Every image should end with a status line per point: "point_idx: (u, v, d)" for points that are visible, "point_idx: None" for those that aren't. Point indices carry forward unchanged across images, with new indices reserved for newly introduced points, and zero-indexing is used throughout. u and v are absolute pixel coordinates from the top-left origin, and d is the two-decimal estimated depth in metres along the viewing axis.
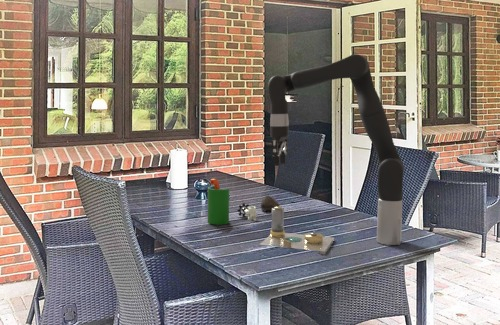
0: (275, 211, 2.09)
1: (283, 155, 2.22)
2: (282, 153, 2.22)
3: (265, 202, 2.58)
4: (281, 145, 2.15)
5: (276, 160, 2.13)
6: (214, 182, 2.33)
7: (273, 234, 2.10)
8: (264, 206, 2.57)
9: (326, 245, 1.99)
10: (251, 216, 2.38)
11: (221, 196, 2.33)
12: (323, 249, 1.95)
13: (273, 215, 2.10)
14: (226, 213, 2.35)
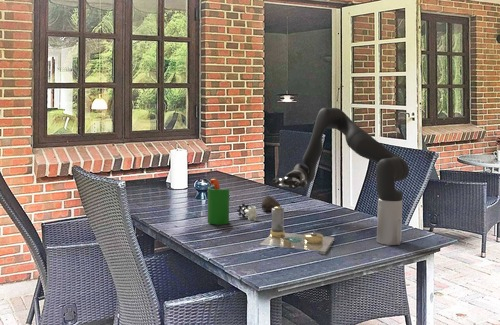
0: (275, 211, 2.09)
1: None
2: None
3: (266, 202, 2.58)
4: (284, 178, 2.29)
5: None
6: (214, 182, 2.33)
7: (273, 234, 2.10)
8: (265, 206, 2.57)
9: (326, 245, 1.99)
10: (251, 216, 2.38)
11: (221, 196, 2.33)
12: (323, 249, 1.95)
13: (273, 215, 2.10)
14: (226, 213, 2.35)
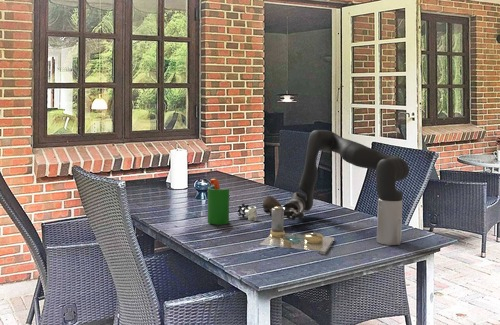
0: (275, 211, 2.09)
1: None
2: None
3: (267, 202, 2.58)
4: None
5: None
6: (214, 182, 2.33)
7: (273, 234, 2.10)
8: (266, 206, 2.57)
9: (326, 245, 1.99)
10: (252, 216, 2.38)
11: (221, 196, 2.33)
12: (323, 249, 1.95)
13: (273, 215, 2.10)
14: (226, 213, 2.35)
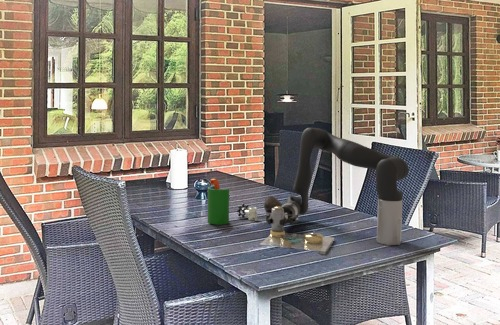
0: (275, 211, 2.09)
1: None
2: None
3: (268, 202, 2.58)
4: None
5: None
6: (214, 182, 2.33)
7: (273, 234, 2.10)
8: (267, 206, 2.57)
9: (326, 245, 1.99)
10: (252, 217, 2.37)
11: (221, 196, 2.33)
12: (323, 249, 1.95)
13: (273, 215, 2.10)
14: (226, 213, 2.35)
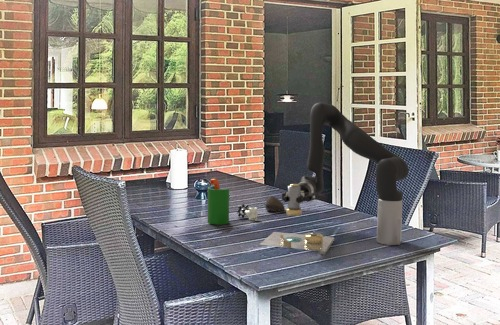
0: (292, 188, 2.02)
1: None
2: None
3: (270, 202, 2.57)
4: None
5: None
6: (214, 182, 2.33)
7: (289, 212, 2.04)
8: (269, 206, 2.57)
9: (326, 245, 1.99)
10: (252, 217, 2.37)
11: (221, 196, 2.33)
12: (323, 249, 1.95)
13: (289, 192, 2.03)
14: (226, 213, 2.35)
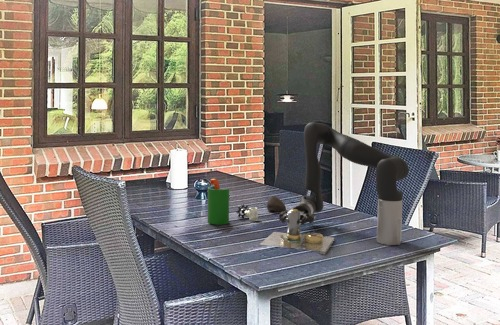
0: (291, 214, 2.04)
1: None
2: None
3: (271, 202, 2.57)
4: None
5: None
6: (214, 182, 2.33)
7: (289, 237, 2.05)
8: (270, 206, 2.57)
9: (326, 245, 1.99)
10: (253, 217, 2.36)
11: (221, 196, 2.33)
12: (323, 249, 1.95)
13: (289, 218, 2.05)
14: (226, 213, 2.35)
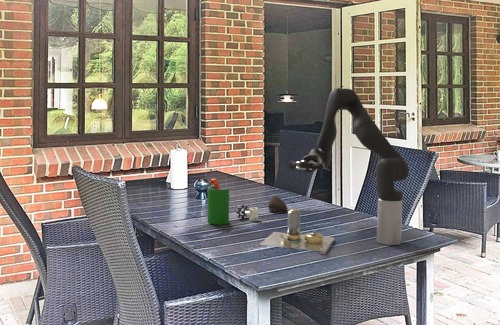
0: (291, 214, 2.04)
1: None
2: None
3: (273, 202, 2.57)
4: (301, 161, 2.24)
5: None
6: (214, 182, 2.33)
7: (289, 237, 2.05)
8: (272, 206, 2.57)
9: (326, 245, 1.99)
10: (253, 217, 2.36)
11: (221, 196, 2.33)
12: (323, 249, 1.95)
13: (289, 218, 2.05)
14: (226, 213, 2.35)
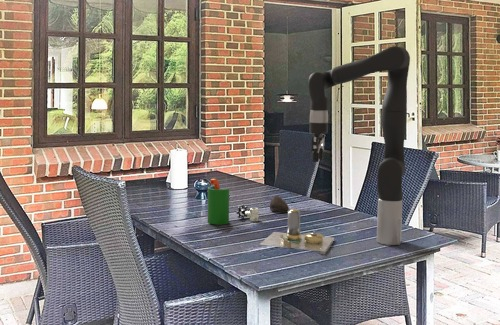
0: (291, 214, 2.04)
1: (320, 151, 2.23)
2: (319, 149, 2.23)
3: (274, 202, 2.57)
4: (320, 141, 2.15)
5: (316, 156, 2.14)
6: (214, 182, 2.33)
7: (289, 237, 2.05)
8: (273, 206, 2.57)
9: (326, 245, 1.99)
10: (254, 218, 2.35)
11: (221, 196, 2.33)
12: (323, 249, 1.95)
13: (289, 218, 2.05)
14: (226, 213, 2.35)
